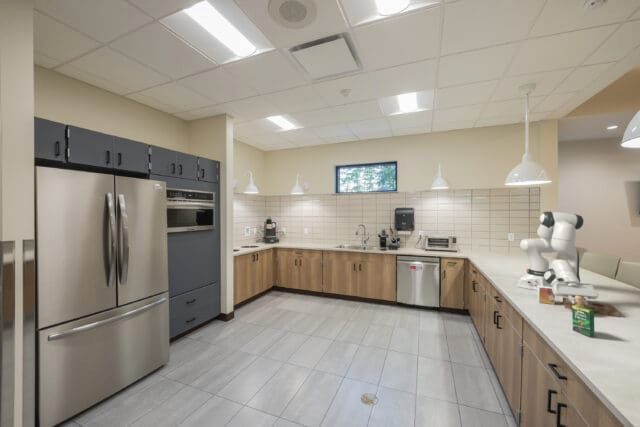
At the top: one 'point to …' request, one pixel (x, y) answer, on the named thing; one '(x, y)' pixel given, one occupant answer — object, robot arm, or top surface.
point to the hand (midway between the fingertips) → (580, 303)
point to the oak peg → (579, 301)
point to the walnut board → (595, 307)
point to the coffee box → (583, 320)
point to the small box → (545, 295)
